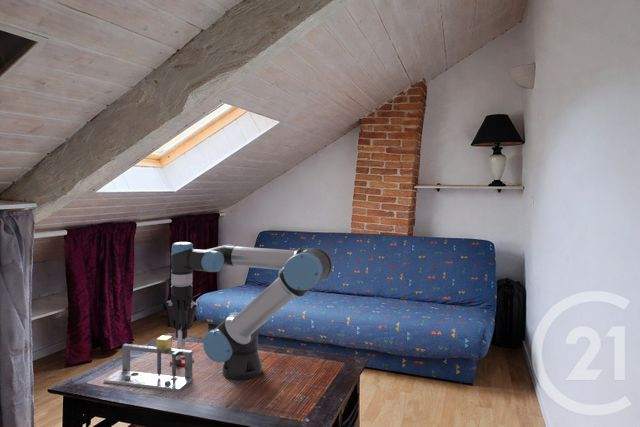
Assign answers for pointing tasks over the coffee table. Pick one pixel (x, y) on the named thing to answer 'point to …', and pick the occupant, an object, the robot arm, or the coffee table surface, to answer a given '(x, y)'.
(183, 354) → the dividers beam
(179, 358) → the tow hook
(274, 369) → the coffee table surface
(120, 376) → the flange plate
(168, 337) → the slider block
